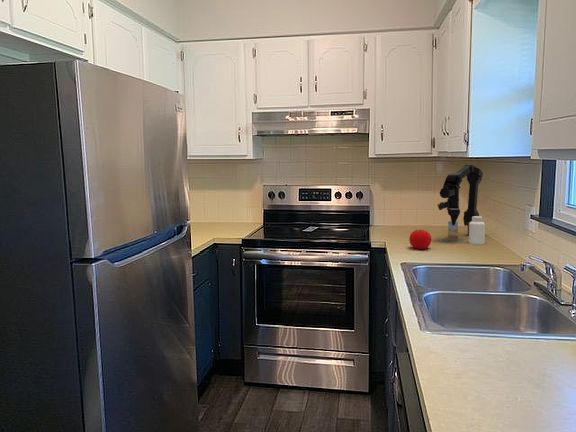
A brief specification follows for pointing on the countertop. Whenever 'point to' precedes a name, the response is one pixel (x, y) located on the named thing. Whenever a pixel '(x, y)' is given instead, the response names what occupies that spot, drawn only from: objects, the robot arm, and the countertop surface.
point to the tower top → (452, 231)
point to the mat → (451, 241)
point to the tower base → (452, 237)
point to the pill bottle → (476, 230)
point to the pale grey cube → (452, 225)
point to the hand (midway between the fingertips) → (453, 224)
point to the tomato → (420, 239)
